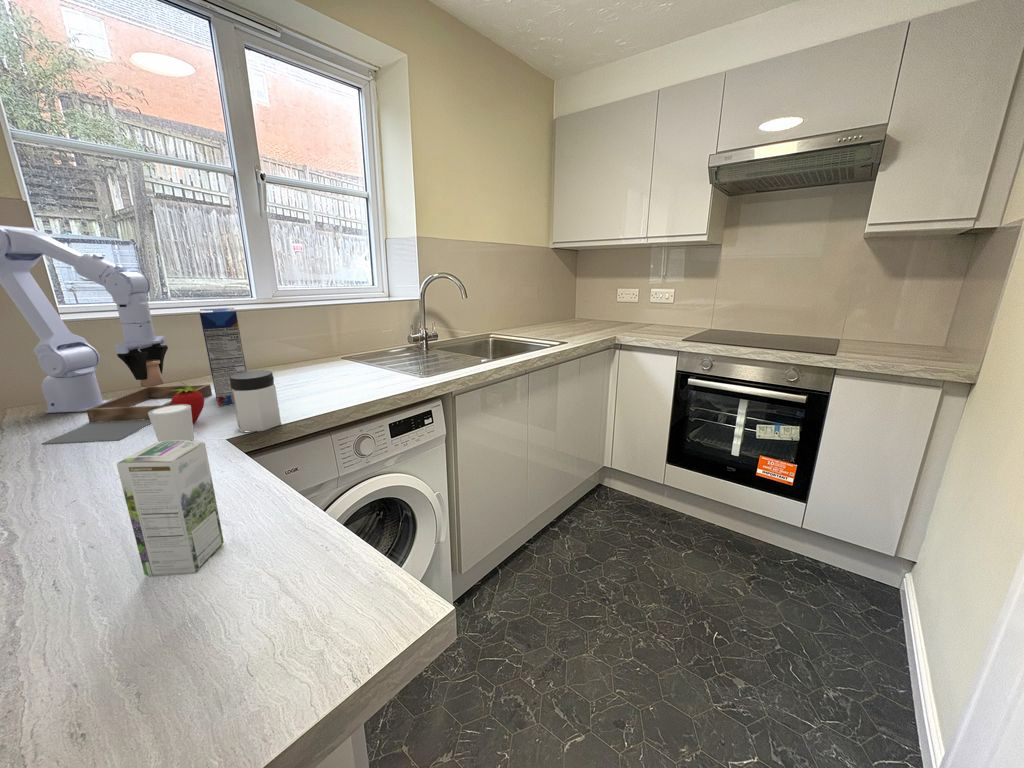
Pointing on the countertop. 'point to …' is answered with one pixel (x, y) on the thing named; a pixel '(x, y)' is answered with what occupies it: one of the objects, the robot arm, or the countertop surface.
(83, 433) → the slate mat
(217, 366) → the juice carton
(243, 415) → the jar
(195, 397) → the strawberry
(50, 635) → the countertop surface
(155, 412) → the white tapered pot
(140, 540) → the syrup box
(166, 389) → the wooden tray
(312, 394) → the countertop surface
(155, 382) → the wooden drawer knob
